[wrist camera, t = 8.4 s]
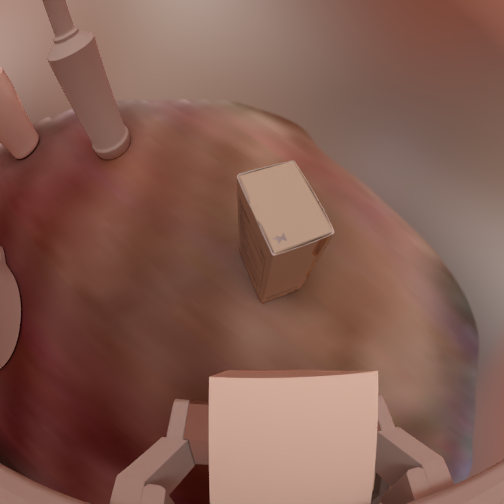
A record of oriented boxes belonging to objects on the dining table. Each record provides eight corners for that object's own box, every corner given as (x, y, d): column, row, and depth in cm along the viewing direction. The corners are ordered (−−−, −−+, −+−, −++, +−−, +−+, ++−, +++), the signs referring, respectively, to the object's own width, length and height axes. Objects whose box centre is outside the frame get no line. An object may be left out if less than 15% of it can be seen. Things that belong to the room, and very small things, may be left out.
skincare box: (302, 288, 29) (340, 237, 18) (260, 304, 28) (274, 261, 17) (276, 231, 31) (295, 156, 20) (236, 245, 30) (234, 172, 19)
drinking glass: (10, 171, 33) (-40, 110, 20) (14, 143, 36) (-28, 84, 22) (42, 152, 35) (-4, 82, 21) (44, 125, 37) (7, 59, 23)
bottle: (90, 160, 34) (10, 0, 11) (106, 131, 36) (46, -23, 13) (122, 162, 34) (49, -18, 11) (137, 132, 36) (86, -38, 12)
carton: (227, 441, 13) (210, 523, 5) (227, 369, 15) (209, 376, 6) (303, 440, 13) (369, 510, 5) (305, 369, 15) (377, 370, 6)
